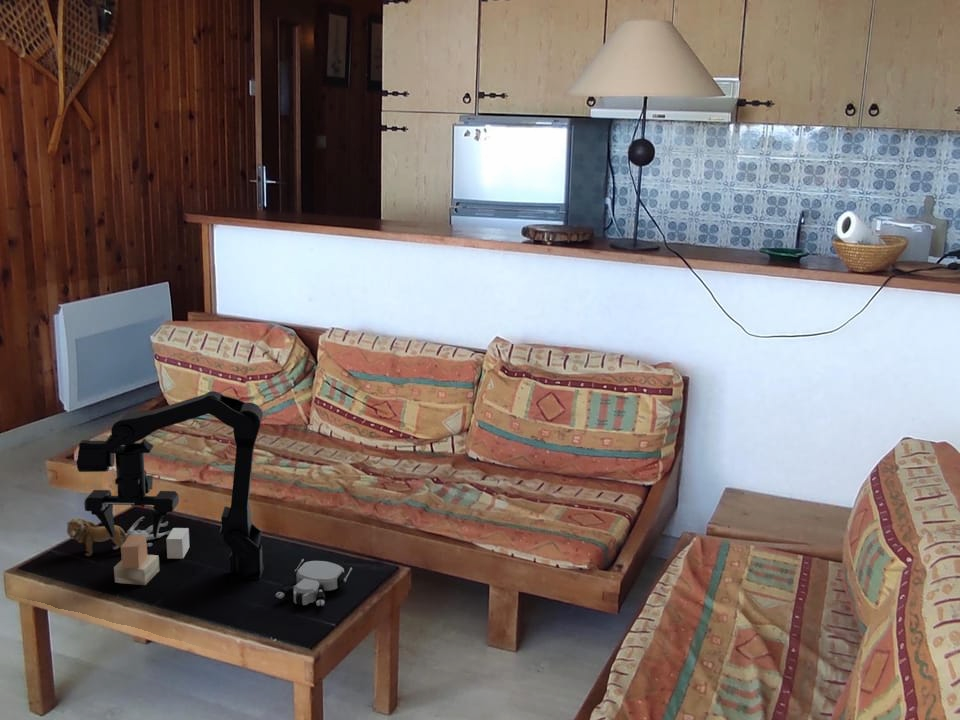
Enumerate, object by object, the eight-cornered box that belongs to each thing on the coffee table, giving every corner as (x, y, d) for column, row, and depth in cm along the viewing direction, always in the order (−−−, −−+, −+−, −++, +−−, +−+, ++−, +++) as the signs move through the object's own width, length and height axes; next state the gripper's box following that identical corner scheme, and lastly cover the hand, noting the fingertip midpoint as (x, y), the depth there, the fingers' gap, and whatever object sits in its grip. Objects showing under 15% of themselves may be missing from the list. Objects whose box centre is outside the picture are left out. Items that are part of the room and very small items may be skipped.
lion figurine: (67, 560, 213) (64, 524, 211) (70, 550, 218) (67, 515, 216) (135, 554, 218) (133, 518, 215) (136, 544, 223) (134, 509, 220)
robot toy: (324, 618, 195) (353, 581, 208) (323, 599, 193) (353, 563, 207) (272, 608, 198) (304, 572, 212) (271, 589, 197) (303, 554, 210)
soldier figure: (175, 543, 226) (133, 544, 216) (163, 552, 228) (121, 554, 218) (166, 514, 229) (125, 515, 219) (154, 524, 231) (113, 525, 221)
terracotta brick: (147, 555, 209) (145, 535, 208) (139, 567, 203) (137, 547, 202) (131, 555, 209) (129, 535, 208) (122, 567, 203) (120, 547, 202)
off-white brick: (189, 547, 222) (188, 528, 221) (183, 558, 216) (182, 539, 215) (174, 547, 222) (173, 528, 221) (167, 558, 216) (166, 538, 215)
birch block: (159, 571, 210) (158, 555, 209) (145, 586, 204) (144, 569, 203) (130, 569, 211) (129, 552, 210) (114, 583, 204) (113, 567, 203)
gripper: (183, 458, 209) (186, 522, 213) (99, 456, 208) (103, 521, 212) (170, 476, 199) (173, 543, 202) (81, 475, 197) (86, 542, 201)
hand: (134, 536), depth 205 cm, fingers open, 9 cm apart
